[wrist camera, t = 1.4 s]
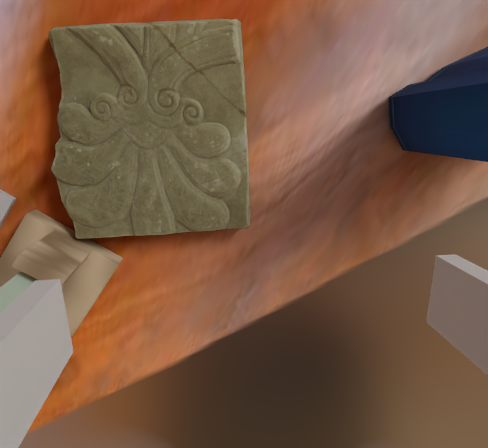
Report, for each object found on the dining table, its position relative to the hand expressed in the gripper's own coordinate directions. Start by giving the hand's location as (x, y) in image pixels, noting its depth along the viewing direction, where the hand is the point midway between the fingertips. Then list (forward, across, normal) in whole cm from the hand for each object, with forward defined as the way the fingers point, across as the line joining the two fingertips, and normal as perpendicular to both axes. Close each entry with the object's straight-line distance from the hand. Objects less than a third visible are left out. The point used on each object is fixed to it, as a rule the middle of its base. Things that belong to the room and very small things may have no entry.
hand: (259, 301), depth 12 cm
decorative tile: (+27, -7, +5) cm, 28 cm away
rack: (+26, -20, -12) cm, 35 cm away
